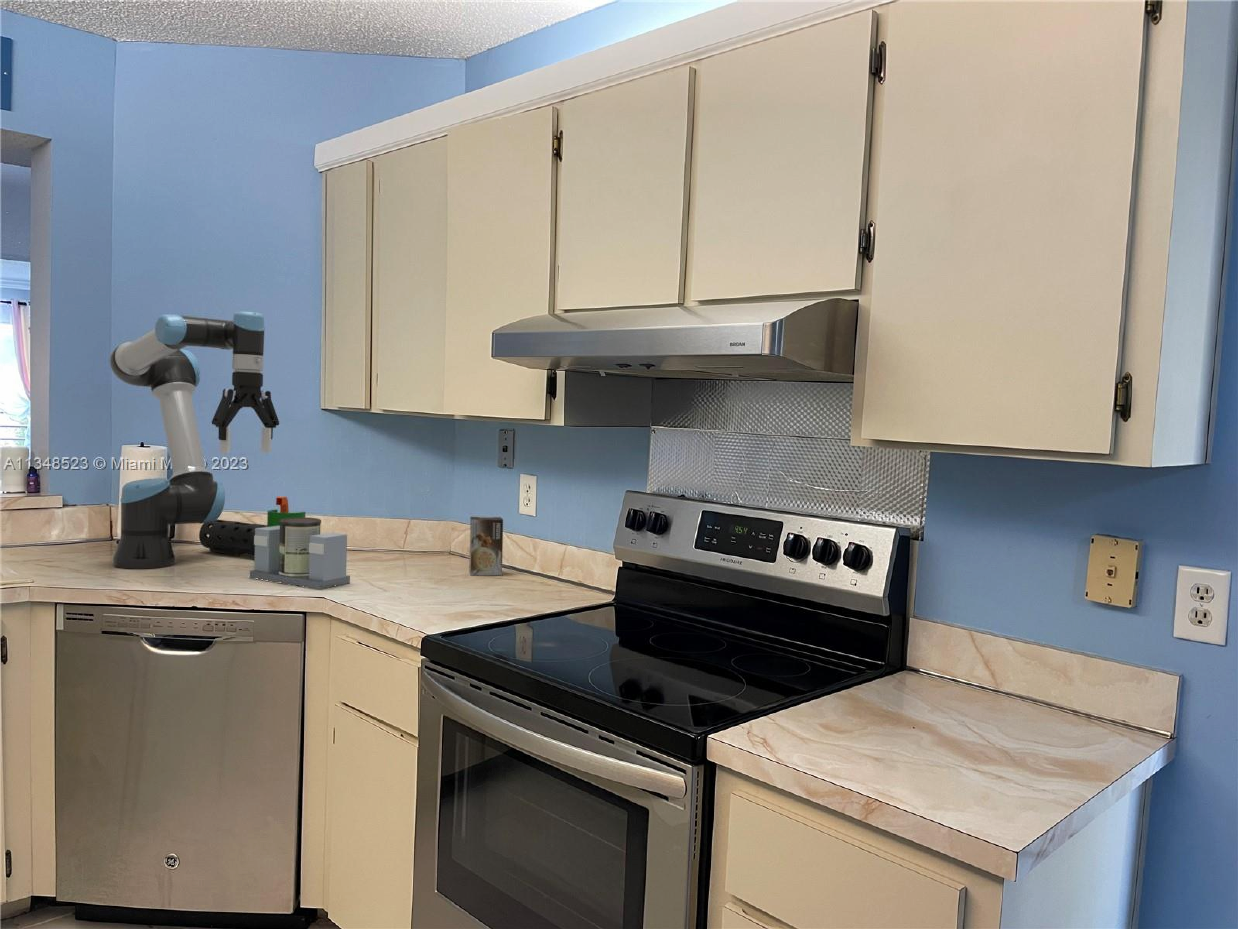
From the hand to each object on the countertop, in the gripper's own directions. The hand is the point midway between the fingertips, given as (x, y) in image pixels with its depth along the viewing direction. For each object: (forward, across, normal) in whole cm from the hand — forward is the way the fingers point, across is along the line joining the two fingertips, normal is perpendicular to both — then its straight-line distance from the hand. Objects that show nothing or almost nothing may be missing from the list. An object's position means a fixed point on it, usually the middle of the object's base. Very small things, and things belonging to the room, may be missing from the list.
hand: (245, 452), depth 246 cm
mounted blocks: (+31, +4, -16) cm, 35 cm away
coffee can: (+31, +4, -16) cm, 35 cm away
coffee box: (+33, +44, -47) cm, 72 cm away
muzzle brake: (+33, +22, +23) cm, 46 cm away
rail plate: (+33, +4, -16) cm, 37 cm away
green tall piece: (+33, +16, +2) cm, 37 cm away
